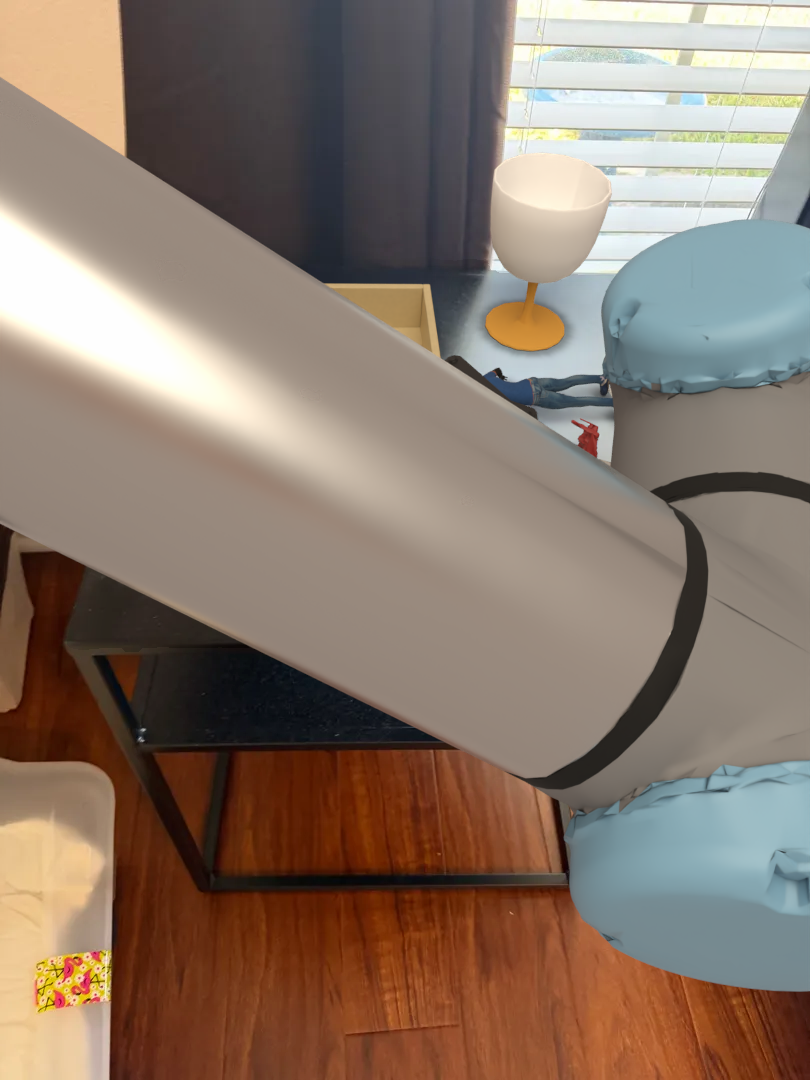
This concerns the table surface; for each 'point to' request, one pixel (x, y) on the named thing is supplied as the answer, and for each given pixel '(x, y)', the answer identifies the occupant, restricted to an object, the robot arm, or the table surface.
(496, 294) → the table surface
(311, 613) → the robot arm
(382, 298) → the open wooden box
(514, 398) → the person figurine
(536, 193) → the cup
